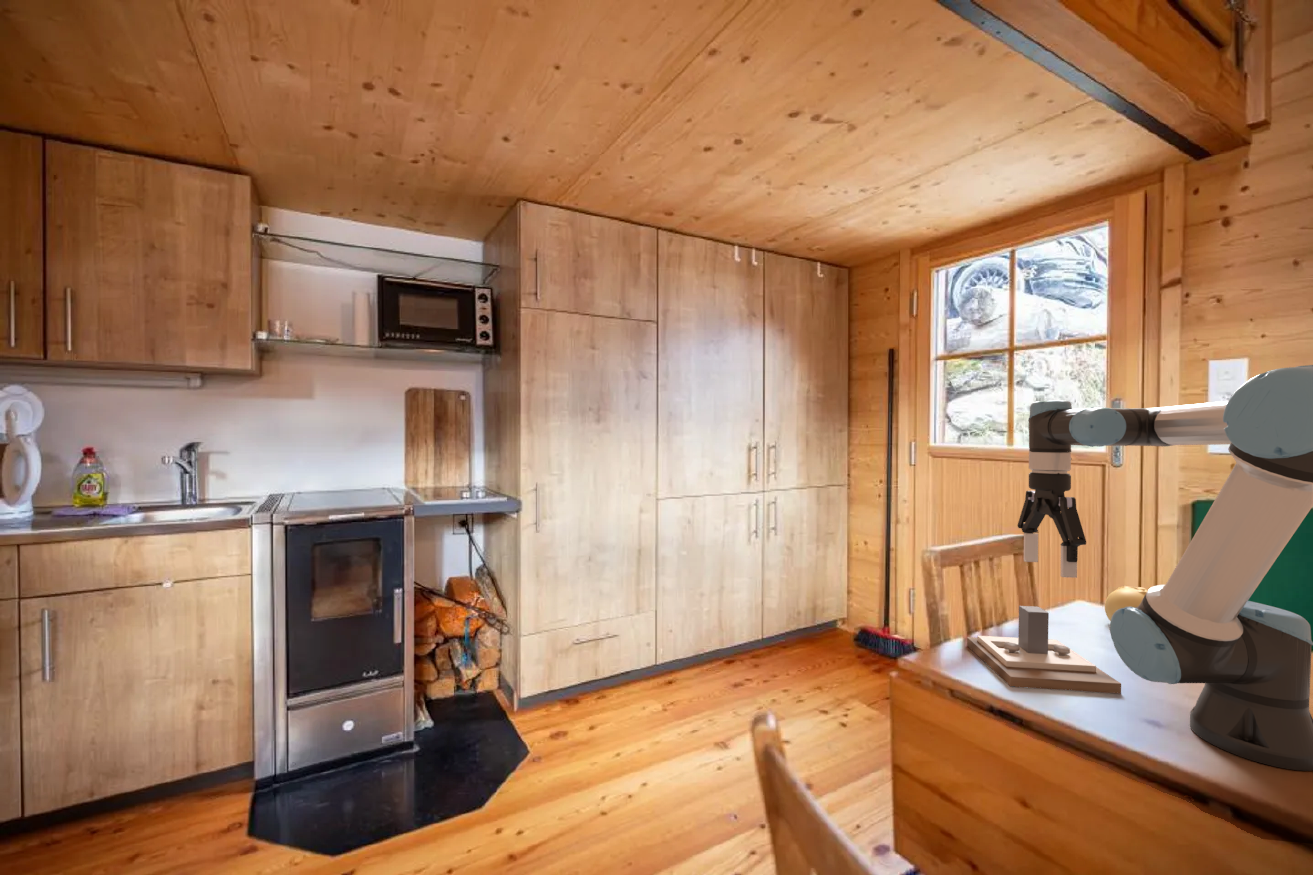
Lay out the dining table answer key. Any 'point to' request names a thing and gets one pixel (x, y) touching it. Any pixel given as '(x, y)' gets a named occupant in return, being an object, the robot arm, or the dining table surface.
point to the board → (1046, 672)
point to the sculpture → (1124, 599)
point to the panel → (1035, 658)
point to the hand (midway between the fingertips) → (1048, 569)
